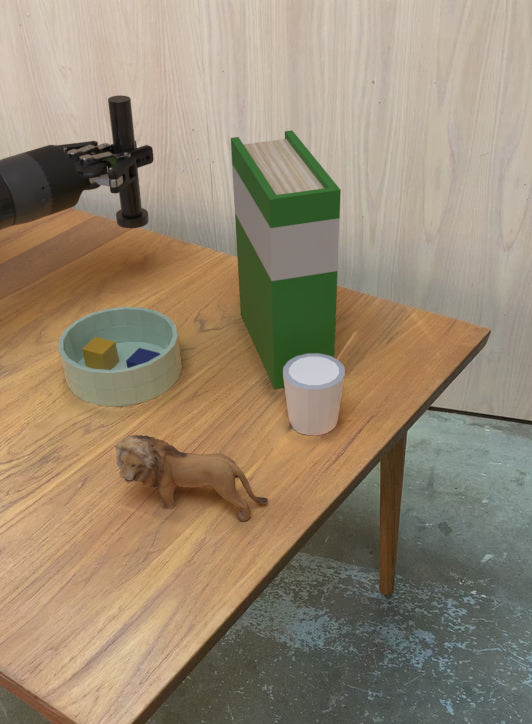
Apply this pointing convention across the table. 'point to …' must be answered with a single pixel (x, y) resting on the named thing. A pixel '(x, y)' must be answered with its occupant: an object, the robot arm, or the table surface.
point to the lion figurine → (181, 471)
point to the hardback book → (285, 250)
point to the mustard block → (100, 354)
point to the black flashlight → (122, 142)
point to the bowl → (122, 356)
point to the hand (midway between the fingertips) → (142, 150)
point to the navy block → (140, 357)
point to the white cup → (313, 392)
